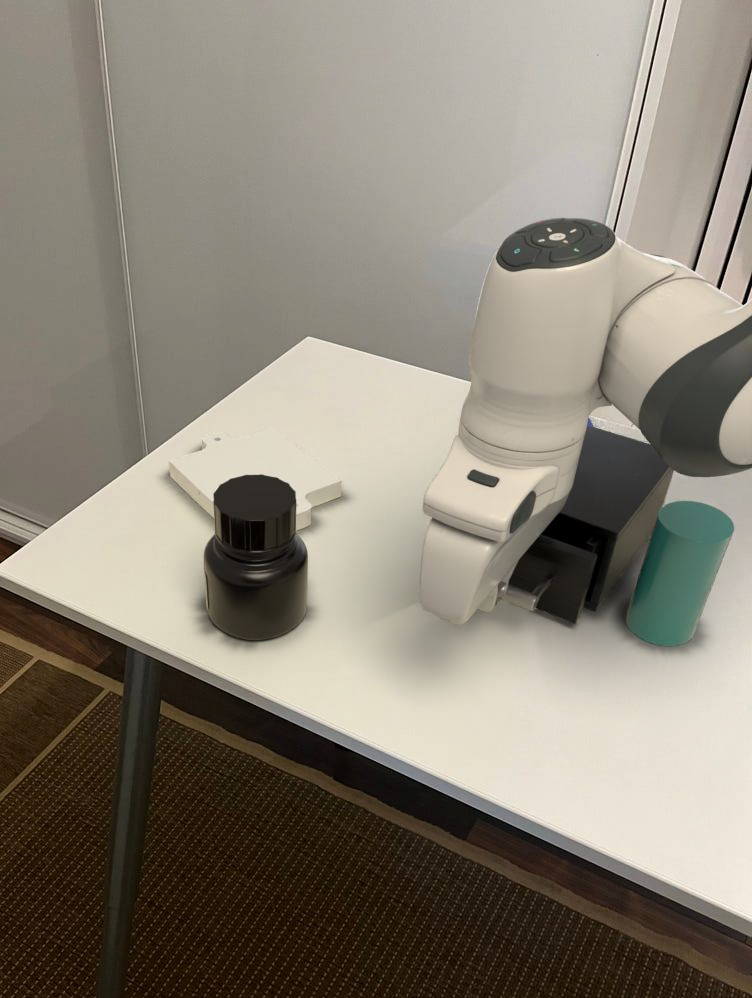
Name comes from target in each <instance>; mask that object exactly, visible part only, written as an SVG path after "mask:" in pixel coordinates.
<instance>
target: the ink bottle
mask: <svg viewBox="0 0 752 998" xmlns="http://www.w3.org/2000/svg"><path fill="white" fill-rule="evenodd" d="M213 497H214V501H213V506H214V518H213V523H214V526H213V527H214V534H213V535H212V536H211V537H210V539H209V540H208V541H207V543H206V545H205V547H204V550H203V575H204V590H205V591H204V592H205V607H206V611H207V615H208V617H209V619H210V620H211V622H212V623H213V624H214V625H215V626H216V627H217V628H218V629H219V630H220V631H223V632H224V633H226V634H228V635H231V636H233V637H236V638H238V639H242V640H248V641H262V640H268V639H269V640H270V639H272V638H276V637H280V636H281V635H284V634H286V633H288V632H289V631H291V630H294V628H296V627H297V626H298V625H299V624H300V623H301V621H302V620H303V619H304V617H305V615H306V613H307V606H308V580H309V579H308V578H309V577H308V575H309V572H308V571H309V552H308V548H307V545H306V544H305V542H304V540H303V539H302V537H300V535H299V534H297V531H296V492H295V490H293V488H292V487H291V486H290V484H289V483H286V482H284V481H282V480H280V479H279V478H277V477H271V476H266V475H262V474H260V475H244V476H240V477H236V478H231V479H230V480H228V481H226V482H225V483H223V484H220V485H219V487H218V489H217V490H216V491H215V492H214V494H213Z"/></svg>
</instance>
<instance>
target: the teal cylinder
mask: <svg viewBox="0 0 752 998" xmlns="http://www.w3.org/2000/svg"><path fill="white" fill-rule="evenodd" d="M734 532H735V525H734V522H733V520H732V519H731V517H729V515H727V514H726V513H725V512H724V511H722V510H721V509H719V508H717V507H715V506H713V505H710V504H707V503H704V502H700V501H694V500H677V501H671V502H668V503H666V504H665V505H664V504H663V507H662V508H661V509H660V511H659V513H658V516H657V519H656V522H655V525H654V529H653V532H652V534H651V536H650V537H649V541H648V545H647V548H646V551H645V554H644V557H643V560H642V563H641V567H640V570H639V572H638V576H637V579H636V582H635V586H634V589H633V592H632V595H631V598H630V601H629V604H628V607H627V609H626V610H627V611H626V614H625V623H626V626H627V627H628V629H629V630H630V631H631V632H632V633H633V634H634V635H635V636H636V637H638V638H640V639H641V640H643V641H645V642H647V643H649V644H653V645H656V646H661V647H678V646H681V645H685V644H686V643H688V642H690V640H692V639H693V637H694V635H695V633H696V630H697V628H698V625H699V622H700V620H701V618H702V615H703V612H704V609H705V607H706V605H707V601H708V600H709V597H710V594H711V592H712V589H713V586H714V583H715V581H716V579H717V576H718V573H719V571H720V569H721V566H722V563H723V561H724V558H725V555H726V552H727V550H728V547H729V545H730V542H731V539H732V537H733V534H734Z"/></svg>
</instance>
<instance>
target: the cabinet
mask: <svg viewBox="0 0 752 998" xmlns="http://www.w3.org/2000/svg"><path fill="white" fill-rule="evenodd" d="M674 473H675V471H674V470H673V469H671V468H670V467H669V466H668V465H667V464H666V462H665V461H664V460H663V459H662V458H661V456H660V455H659V454H658V453H657V452H656V450H655V449H654V448H653V447H652V446H651V444H650V443H649V442H644V441H641V440H638V439H635V438H631V437H629V436H626V435H621V434H619V433H615V432H612V431H608V430H605V429H602V428H598V427H595V426H593V427H592V426H589V425H587V428H586V432H585V436H584V441H583V445H582V449H581V453H580V457H579V461H578V465H577V470H576V474H575V478H574V482H573V486H572V488H571V490H570V492H569V495H568V498H567V500H566V503H565V505H564V507H563V508H562V510H561V511H560V512H559V513H558V514H557V516H556V517H555V518H554V519H557V520H559V521H562V522H565V523H568V524H571V525H573V526H576V527H579V528H582V529H585V530H588V531H590V532H593V533H596V534H599V535H602V536H605V537H607V541H606V545H605V548H604V552H603V555H602V559H601V562H600V566H599V570H598V573H597V577H596V580H595V583H594V584H593V586H592V587H591V588H590V590H589V591H588V592H587V595H586V598H585V602H584V605H583V609H584V608H585V609H587V610H590V611H592V612H595V613H596V612H597V611H598V610H599V608H600V607H601V605H602V604H603V603H604V601H605V600H606V599H607V597H608V595H609V594H610V593H611V591H613V589H614V587H615V586H616V584H617V583H618V582H619V581H620V579H621V577H622V576H623V575H624V573H625V572H626V570H627V569H628V568H629V566H630V565H631V564H632V562H633V561H634V559H635V558H636V557H637V555H638V554H639V553H640V551H641V550H642V548H643V547H644V545H645V544H646V543H647V542H648V540H649V539H650V538H651V535H652V532H653V529H654V525H655V522H656V519H657V516H658V513H659V511H660V509H661V508H662V507H663V506H664V504H665V500H666V497H667V494H668V490H669V487H670V485H671V483H672V482H671V481H672V478H673V475H674Z"/></svg>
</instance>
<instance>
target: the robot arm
mask: <svg viewBox="0 0 752 998" xmlns="http://www.w3.org/2000/svg"><path fill="white" fill-rule="evenodd" d="M492 256H493V257H492V258H491V261H490V263H489V265H488V267H487V270H486V273H485V276H484V280H483V282H482V287H481V290H480V293H479V298H478V302H477V305H476V306H477V307H476V312H475V316H474V322H473V328H472V334H471V339H470V340H471V341H470V347H469V354H468V365H469V372H470V387H469V390H468V393H467V395H466V398H465V399H464V401H463V404H462V407H461V410H460V418H459V424H458V430H457V431H458V432H457V434H456V435H455V436H454V438H453V440H452V444H451V446H450V449H449V451H448V454H447V456H446V458H445V460H444V462H443V463H442V465H441V466H440V468H439V470H438V471H437V473H436V474H435V476H434V477H433V479H432V480H431V482H430V483H429V485H428V487H427V489H426V490H425V492H424V496H423V501H422V513H423V514H424V515H425V516H428V517H430V518H431V519H430V520H429V522H428V525H427V527H426V530H425V534H424V536H423V537H424V538H423V542H422V548H421V555H420V557H421V558H420V564H419V565H420V567H419V578H418V579H419V580H418V601H419V604H420V606H421V608H422V609H423V610H424V611H425V612H427V613H428V614H430V615H432V616H434V617H437V618H439V619H441V620H444V621H446V622H448V623H451V624H453V625H458V626H462V625H464V624H466V623H467V622H468V620H469V619H470V618H471V617H472V616H473V614H474V613H475V612H476V611H477V610H480V611H482V612H485V613H491V612H492V611H493V610H494V609H495V608H496V606H497V605H498V604H499V603H500V601H501V600H503V599H502V597H503V596H504V595H505V594H506V593H507V588H508V583H509V579H510V578H511V575H512V573H513V571H514V569H515V567H516V565H517V562H518V560H519V559H520V558H521V557H522V555H523V554H524V553H525V552H526V551H527V550H528V548H529V547H530V546H531V545H532V544H533V543H534V541H535V540H536V539H537V538H538V537H539V536H540V534H541V533H542V532H543V531H544V530H545V528H546V527H547V526H548V525H549V524H550V523H551V521H552V520H553V519H554V518H555V517H556V516H557V514H558V513H559V512H560V511H561V510H562V508H563V507H564V505H565V503H566V500H567V498H568V495H569V492H570V490H571V488H572V486H573V482H574V478H575V474H576V470H577V465H578V461H579V457H580V453H581V449H582V445H583V441H584V436H585V432H586V428H587V422H588V418H589V419H590V415H591V414H592V412H593V411H594V410H596V409H598V408H603V407H610V406H613V407H614V408H615V409H617V410H618V412H620V413H621V414H622V415H623V416H624V417H625V418H626V419H627V420H628V421H630V422H631V424H632V425H634V426H635V427H636V428H637V429H638V430H639V431H640V432H641V434H642V436H643V438H644V439H645V440H646V441H647V443H648V444H651V446H652V447H653V448H654V449H655V450H656V452H657V453H658V454H659V455H660V456H661V458H662V459H663V460H664V461H665V462H666V464H667V465H668V466H669V467H670V468H671V469H673V470H674V472H675V473H677V474H680V475H682V476H686V477H691V478H692V477H693V478H714V477H715V478H716V477H725V476H729V475H734V474H739V473H742V472H745V471H747V470H751V469H752V298H750V299H749V300H748V301H747V302H746V303H745V304H742V303H740V302H739V301H737V300H735V298H733V297H731V296H730V295H728V294H727V293H725V292H723V291H722V290H720V289H719V288H718V287H717V286H716V285H715V284H713V283H712V282H711V281H709V280H708V279H707V278H704V277H703V276H702V275H700V274H699V273H698V272H696V271H694V270H693V269H691V268H689V267H687V266H686V265H684V264H682V263H681V262H679V261H677V260H674V259H671V258H669V257H666V256H663V255H659V254H652V253H651V254H649V253H645V252H642V251H639V250H638V249H637V248H634V247H633V246H631V245H629V244H627V243H626V242H625V241H623V240H622V239H621V238H619V237H618V236H617V234H616V233H615V232H614V230H613V229H612V228H610V227H609V226H607V225H606V224H604V223H602V222H599V221H597V220H593V219H589V218H582V217H581V218H579V217H555V218H554V217H553V218H552V217H551V218H547V219H542V220H538V221H535V222H532V223H529V224H527V225H525V226H523V227H521V228H519V229H517V230H515V231H513V232H512V233H511V234H509V235H508V236H507V237H506V238H505V239H504V240H503V241H502V242H501V243H500V244H499V246H498V247H497V249H496V251H495V253H494V255H492Z"/></svg>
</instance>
